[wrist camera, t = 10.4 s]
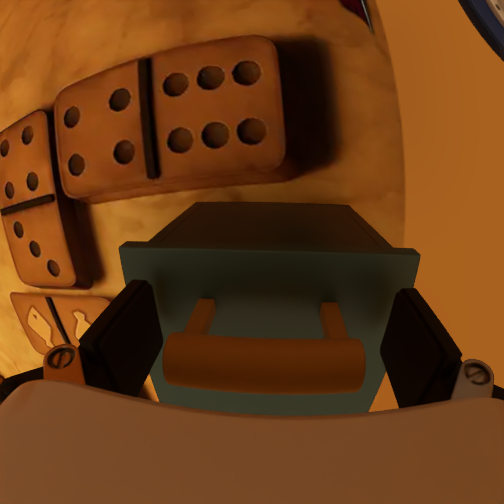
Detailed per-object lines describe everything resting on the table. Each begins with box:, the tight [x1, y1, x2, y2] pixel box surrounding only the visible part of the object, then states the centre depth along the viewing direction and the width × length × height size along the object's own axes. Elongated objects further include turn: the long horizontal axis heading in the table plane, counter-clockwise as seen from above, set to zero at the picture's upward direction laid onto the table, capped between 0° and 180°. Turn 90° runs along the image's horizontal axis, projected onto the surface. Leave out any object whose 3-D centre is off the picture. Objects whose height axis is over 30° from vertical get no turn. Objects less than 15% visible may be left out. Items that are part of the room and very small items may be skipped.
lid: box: [119, 241, 420, 416], centre depth 12 cm, size 15×13×5 cm
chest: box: [148, 202, 393, 248], centre depth 20 cm, size 15×13×12 cm
